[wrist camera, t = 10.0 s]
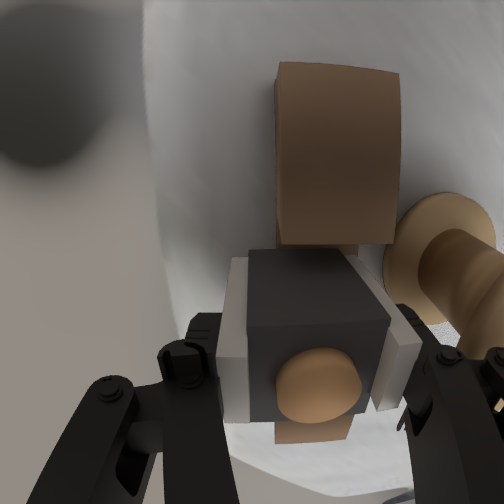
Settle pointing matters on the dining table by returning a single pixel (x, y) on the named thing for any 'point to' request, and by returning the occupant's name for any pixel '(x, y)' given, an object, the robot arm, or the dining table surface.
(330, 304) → the dark grey rectangular block
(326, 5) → the dining table surface
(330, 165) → the brown wooden u-shaped block
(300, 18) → the dining table surface
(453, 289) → the wooden spool
